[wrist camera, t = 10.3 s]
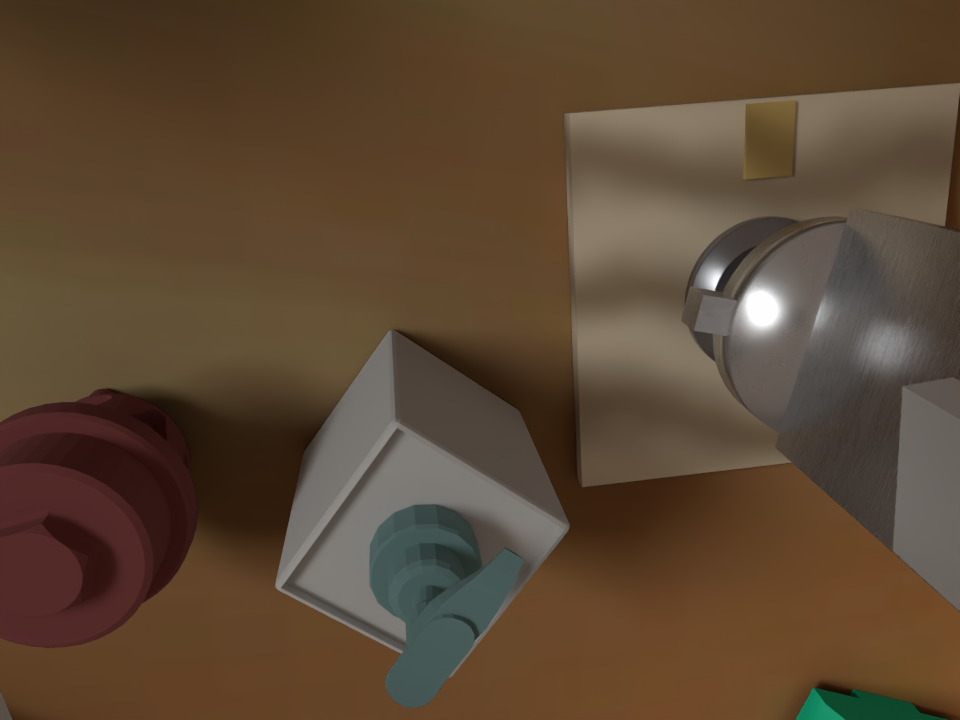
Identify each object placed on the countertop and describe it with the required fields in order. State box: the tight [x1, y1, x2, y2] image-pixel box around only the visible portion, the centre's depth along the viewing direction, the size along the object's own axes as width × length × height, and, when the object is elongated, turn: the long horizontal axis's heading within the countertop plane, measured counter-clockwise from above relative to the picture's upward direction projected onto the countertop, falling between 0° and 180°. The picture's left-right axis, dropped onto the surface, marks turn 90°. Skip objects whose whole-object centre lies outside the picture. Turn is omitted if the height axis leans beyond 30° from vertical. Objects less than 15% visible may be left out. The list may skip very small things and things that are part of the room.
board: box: [564, 83, 960, 487], centre depth 43 cm, size 20×20×2 cm
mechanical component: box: [0, 389, 198, 648], centre depth 37 cm, size 12×10×10 cm
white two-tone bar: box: [681, 207, 960, 612], centre depth 30 cm, size 13×11×16 cm
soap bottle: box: [275, 330, 570, 708], centre depth 35 cm, size 9×9×19 cm
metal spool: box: [685, 216, 799, 361], centre depth 40 cm, size 8×8×6 cm
